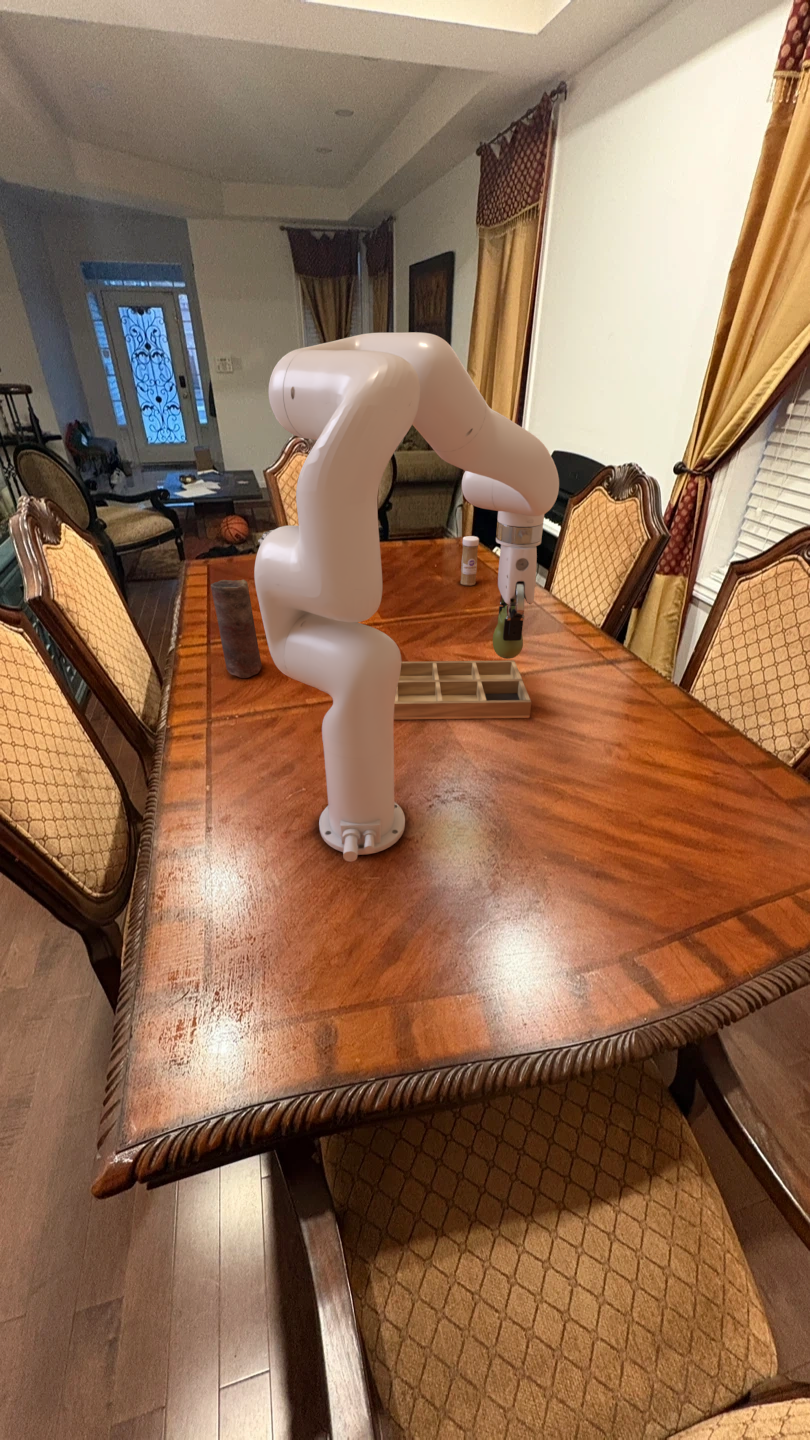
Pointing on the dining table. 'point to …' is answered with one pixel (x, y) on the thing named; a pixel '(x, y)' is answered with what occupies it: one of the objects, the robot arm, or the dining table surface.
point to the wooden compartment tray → (460, 690)
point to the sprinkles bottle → (469, 560)
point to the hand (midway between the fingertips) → (509, 632)
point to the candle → (236, 627)
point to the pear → (505, 647)
